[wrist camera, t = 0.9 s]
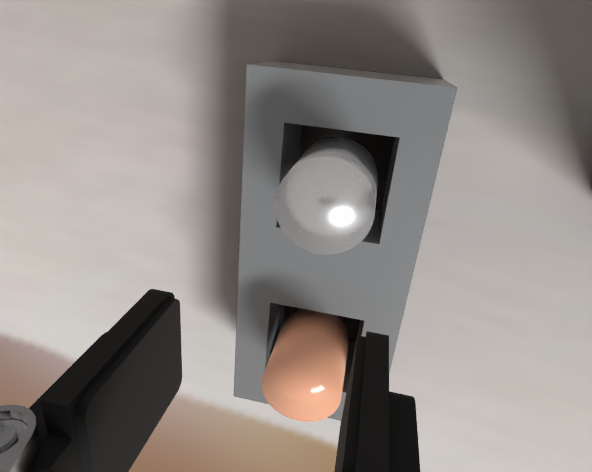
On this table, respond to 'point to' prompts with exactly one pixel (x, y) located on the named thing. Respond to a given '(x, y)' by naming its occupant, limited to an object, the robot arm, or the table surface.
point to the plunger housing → (388, 221)
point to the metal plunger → (328, 197)
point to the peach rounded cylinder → (307, 366)
